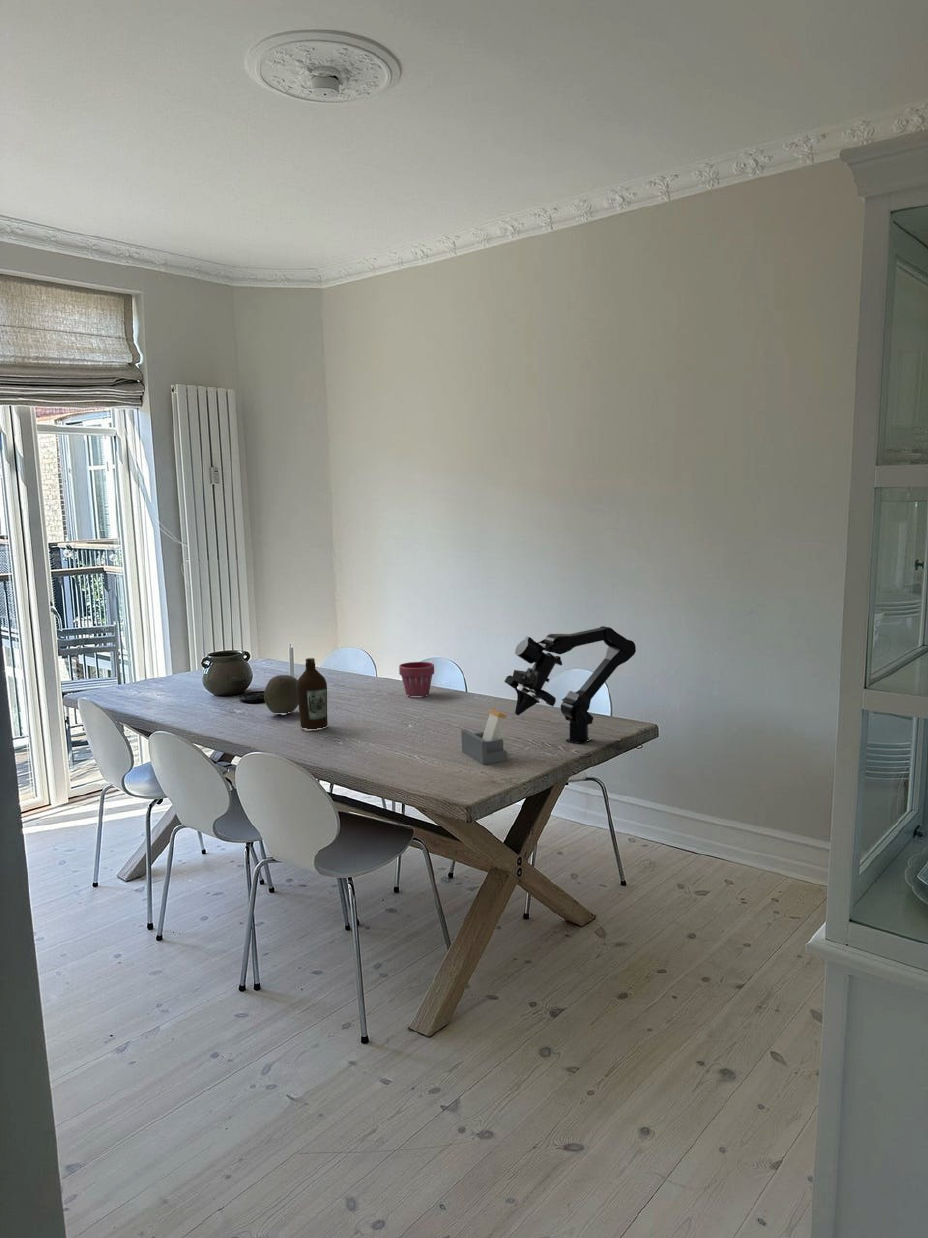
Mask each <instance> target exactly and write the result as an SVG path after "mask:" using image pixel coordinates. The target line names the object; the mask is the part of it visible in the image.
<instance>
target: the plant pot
mask: <svg viewBox="0 0 928 1238" xmlns="http://www.w3.org/2000/svg"><path fill="white" fill-rule="evenodd" d="M398 667H399V669H398V671H399V672H398V673H399V676H401V678H402V682H403V683H402V684H403V686H404V687H403V688H404V691H405V694H406V696H407V695H409V696H426V695H428V694H429V695H430V690H431V685H432V684H431V683H432V678H433V675H434V674H435V664H434V663H433V662H428V661H427V662H426V661H411V662H410V661H409V662H405V663H401V664H399V666H398ZM429 695H428V696H429ZM426 697H427V696H426Z"/></svg>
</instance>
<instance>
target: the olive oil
mask: <svg viewBox="0 0 928 1238" xmlns="http://www.w3.org/2000/svg"><path fill="white" fill-rule="evenodd" d="M304 660H305V670H304V671H303V673H302V674H301V675H300V676H299V678H297V680H298V681H297V685H296V688H297V697H298V713H299V725H300V728H301V727H302V728H307V729H317V728H323V727H326V726H327V725H329V724H328V723H329V722H328V684H327V681H326V678H325V677H324V676H323V675H322V674H321V673H320V672H319V671H318V670H317V669H316V659H315V658H314V657H309V658H306V659H304Z"/></svg>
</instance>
